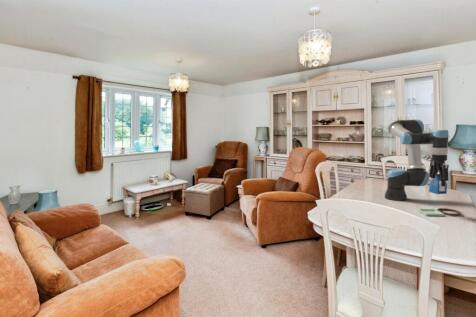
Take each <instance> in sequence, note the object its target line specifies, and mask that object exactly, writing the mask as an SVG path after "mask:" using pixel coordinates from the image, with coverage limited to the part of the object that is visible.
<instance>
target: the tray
mask: <svg viewBox="0 0 476 317" xmlns="http://www.w3.org/2000/svg"><path fill="white" fill-rule="evenodd" d="M417 212H419V213H420V214H422V215H423V216H425V217H445V216H446V215H445V214H443V213H441V212H442V211H441V212H439V211H437V209H436V208H417Z"/></svg>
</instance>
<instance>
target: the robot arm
mask: <svg viewBox="0 0 476 317" xmlns="http://www.w3.org/2000/svg"><path fill="white" fill-rule="evenodd" d="M388 132H389V133H390V134H391V135H393V136H396V137H398V139H399V142H400V144H402V145H406V150H407V161H408V162H407V163H408V167H407V168H406V169H405V168H400V169H399V168H396V169H390V170H388V171H387V182H386V183H387V184H386V185H387V186H386V188H387V189H386V190H385V193H384V198H385V199H387V200H391V201H397V202H400V201H401V202H403V201H407V199H408V196H407V193H406V190H405V187H425V186H427V185H428V182H429V179H431V180H432V179H435V176H436V175H435V174H440V179H441V180H439V181H440V182H439V191H445V182H446V181H447V182H448V181H449V166H450V165H449V164H446V161H447V160H448V148H449V137H450V136H449V130H448V129H434V130H433V132H425V125H424V122H423V121H422V120H421V119H399V120H395V121H393V122H391V123H390V124H389V125H388ZM421 145H432V149H431V153H432V155H431V160H432V161H431V162H430V163H429V165H430V166H429V172H428V171H426V170H425V168H424V167H423V165H422V164H423V163H422V153H421V152H422V150H421Z"/></svg>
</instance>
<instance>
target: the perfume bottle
mask: <svg viewBox="0 0 476 317" xmlns="http://www.w3.org/2000/svg"><path fill="white" fill-rule="evenodd" d="M435 175H436V176H435V179H432V178H431V180H430V182H429V185H428V186H429V187H428V192H429V193H432V194H435V195H445V194H447V191H448V190H447V189H448V183H447V182H446V181H445V191H439V182H440V181H439V180H441V179H440V174H439V173H437V174H435Z"/></svg>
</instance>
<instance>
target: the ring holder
mask: <svg viewBox="0 0 476 317" xmlns="http://www.w3.org/2000/svg"><path fill="white" fill-rule="evenodd" d="M436 210H437V211H439V212H441V213H443V214H445V216H449V217H460V216H461V215H462V211H459V210H457V209H453V208H448V207H447V208H446V207H444V208H443V207H441V208H439V207H438V208H436ZM447 211H448V212H447Z"/></svg>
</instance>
